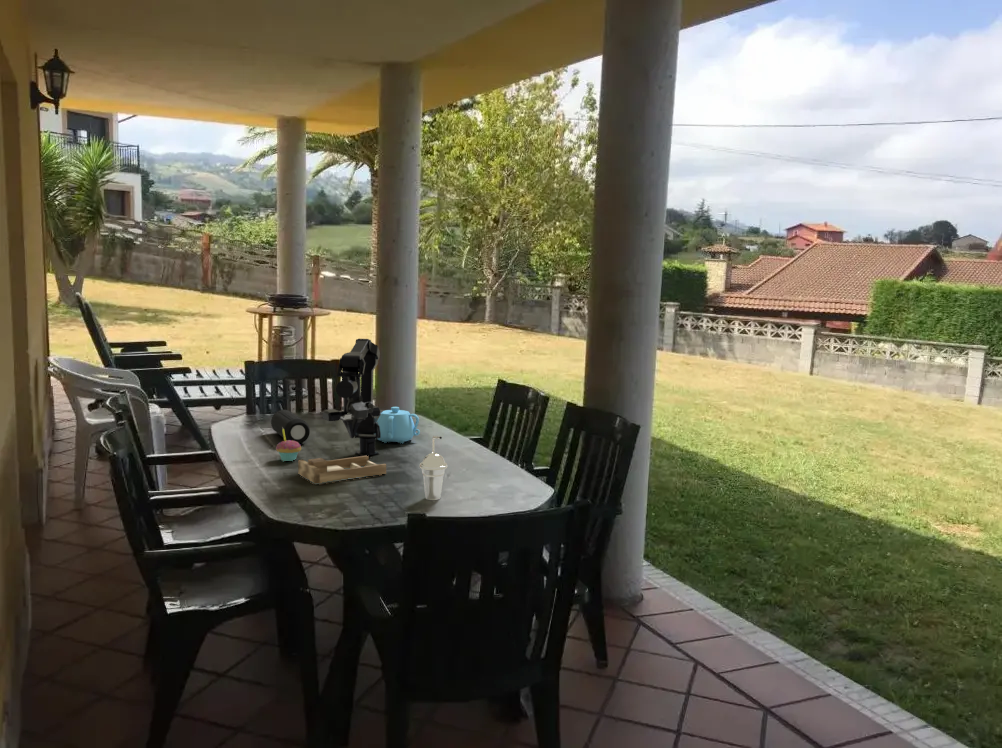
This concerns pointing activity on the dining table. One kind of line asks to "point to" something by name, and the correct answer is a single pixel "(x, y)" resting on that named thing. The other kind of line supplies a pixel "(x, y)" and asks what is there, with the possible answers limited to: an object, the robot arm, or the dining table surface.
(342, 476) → the board
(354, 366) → the robot arm
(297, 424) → the portable speaker
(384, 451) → the dining table surface
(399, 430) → the decorative pot
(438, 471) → the cup with straw
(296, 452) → the cupcake
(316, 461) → the walnut block
